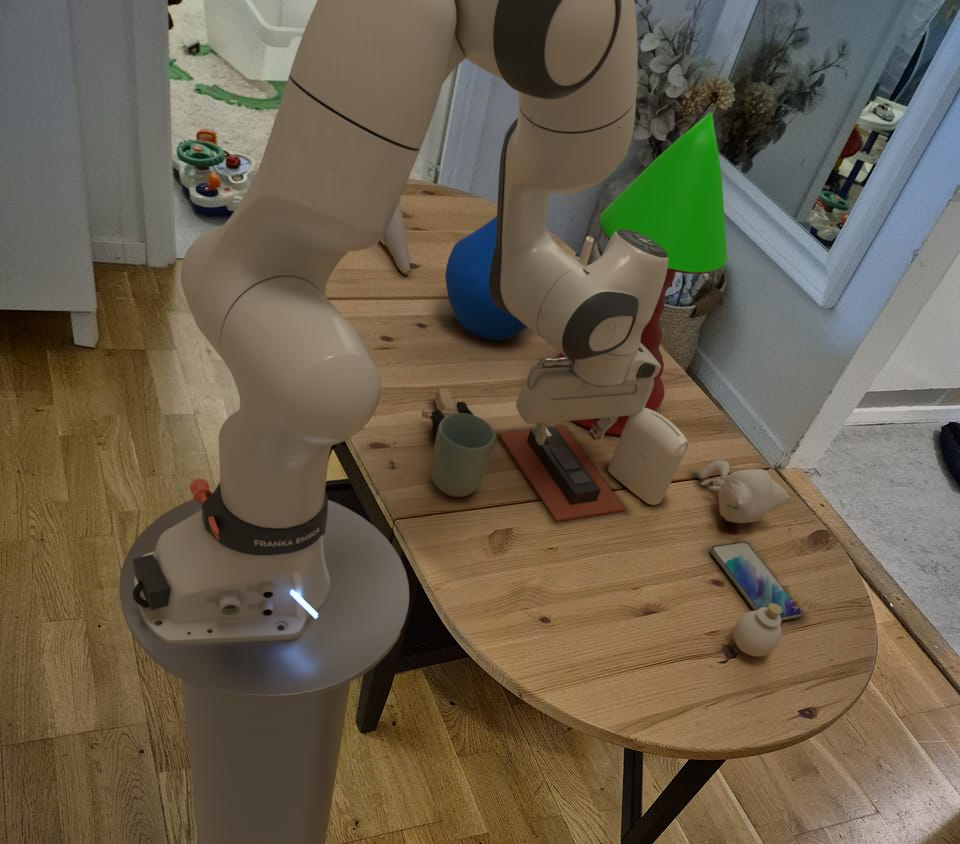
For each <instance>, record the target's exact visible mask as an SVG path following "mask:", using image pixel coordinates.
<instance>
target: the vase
mask: <svg viewBox="0 0 960 844" xmlns="http://www.w3.org/2000/svg"><path fill="white" fill-rule="evenodd" d="M496 227H497V215H496V216H495V217H493V218H492V219H490V220H489V221H487V222H486V223H485V224H483V225H482V226H480V228H478V229H476V230H474V231H473V232H471V233H470V234H468V235H466V236H464V237H463V238H461V239H459V240H458V241H457V242H456V243H455V244H454V245H453V247H452V249H451V252H450V254H449V257H448V259H447V262H446V268H445V275H444V277H445V284H446V285H445V286H446V292H447V299H448V302H449V305H450V307H451V310H452V312H453V315H454V317H455V318H456V319H457V321H458V322H459V324H460V325H461V327H462V328H463V329H465V330H466V331H467V332H469V334H471V335H473V336H476V337H477V338H480V339H485V340H489V341H505V340H508V339H511V338H512V337H515V336H517V335H519V334H520V333H522V332H523V331H525V329H527V328H528V327H527V326H526V325H524V324H523V323H522V322H521V321H519V320H518V319H516V318H514V317H513V316H511V315H510V314H508V313H507V312H505V311H503V310H502V309H500V308H499V307H497V306H496V305H495V304H494V302H493V301H492V299H491V296H490V292H489V283H488V279H489V269H490V264H491V260H492V257H493V253H494V249H495V242H496Z"/></svg>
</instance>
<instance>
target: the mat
mask: <svg viewBox="0 0 960 844" xmlns="http://www.w3.org/2000/svg"><path fill="white" fill-rule="evenodd" d="M555 427H556V429H557V430H558V431H559V433H560V434H561V435H562V437H563V438H564V440H565V441H566V442H567V444H568V445H569V446H570V448H571V449H572V451H573V452H574V453H575V455H576V456H577V457H578V459H579V460H580V462H581V463H582V464H583V466H584V467H585V468H586V470H587V471H588V473H589V474H590V475H591V477H592V478H593V479H594V481H595V482H596V484H597V485H598V486H599V488H600V489H601V491H600V494H599V496H598V499H597V501H593V502H586V503H579V504H573V505H571V504H570V503H569V501H568V500H567V498H566V497H565V496H564V494H563V493H562V491H561V490H560V488H559V487H558V485H557V484H556V482H555V481H554V480H553V478H552V477H551V475H550V474H549V472H548V471H547V469H546V468H545V467H544V465H543V464H542V462H541V461H540V459H539V458H538V456H537V455H536V453H535V452H534V451H533V449H532V448H531V446H530V445H529V443H528V442H527V439H528V436H529V432H530V430H531V429H525V430H516V431H515V430H514V431H506V432H499V433H498V437H499V439H500V440H501V442H502V444H503V445H504V447H505V448H506V450H507V451H508V453H509V454H510V455H511V457H512V458H513V460H514V462H515V463H516V464H517V466H518V468H519V469H520V470H521V472H522V474H523V476H524V477H525V478H526V479H527V481H528V482H529V484H530V485H531V487H532V489H533V490H534V491H535V493H536V494H537V496H538V497H539V499H540V501H541V502H542V503H543V506H544V507H545V508H546V509H547V511H548V513H549V514H550V515H551V517H552V518H553V520H554V522H555V523H559V522H565V521H572V520H579V519H584V518H589V517H595V516H596V517H597V516H604V515H608V514H616V513H622V512H625V510H626V508H625V507H624V506H623V505H622V503H621V501H620V500H619V499H618V497H617V496H616V495H615V494H614V492H613V491H612V490H611V488H610V487H609V486H608V484H607V482H606V481H605V480H604V478H603V477H602V476H601V474H600V473H599V472H598V470H597V469H596V468H595V466H594V465H593V463H591V461H590V460H589V458H588V457H587V456H586V455H585V452H584V451H583V450H582V449H581V448H580V446H579V445H578V443H577V442H576V441H575V439H574V438H573V437H572V435H571V434H570V432H569V431H568V430H567V429H566V427H565V426H564V425H561V426H555Z"/></svg>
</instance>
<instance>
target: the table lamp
mask: <svg viewBox="0 0 960 844" xmlns="http://www.w3.org/2000/svg"><path fill="white" fill-rule="evenodd" d="M720 161H721V160H720V155H719V148H718V142H717V136H716V130H715V125H714V119H713V113H712V111H710V112H709V113H708V114H706V115H705V116H704V117H703V118H702V119H700V120H699V121H697V123H696V124H694V125H693V126H692V127H691V128H689V129H688V130H687V131H686V132H684V133H683V134H682V135H680V136H679V138H677V139H676V140H675V141H674V142H673V143H672V144H671V145H669V146H668V147H667V148H665V150H664V151H663V152H661V154H659V155H658V156H657V157H656V158H655V159H653V161H652V162H651V163H650V164H649V165H648V166H647V167H646V168H645V169H644V170H643V171H642V172H641V173H640V174H639V175H638V176H637V177H636V178H635V179H634V180H633V181H632V182H631V183H630V184H629V185H628V186H627V187H626V188H625V189H624V190H623V191H622V192H620V194H619V195H618V196H617V197H616V198H615V199H613V201H612V202H610V204H609V205H608V206H607V207H606V208H605V209H604V210H603V211H602V212H601V213H600V216H599V226H600V227H599V228H600V229H601V231H602V233H603V235H604V236H605V237H606V238H607V239H608V241H610V239H611V237H612V235H613V234H614V232H615V231H616V230H620V229H628V230H632V231H636V232H638V233H640V234H642V235H644V236H647V237H648V238H650V239H651V240H653V241H654V242H656V243H657V244H658V245H660V246H661V247H662V248H663V249H664V250H665V252H666V253H667V255H668V268H667V273H666V277H665V281H664V285H663V288H662V291H661V294H660V297H659V300H658V302H657V305H656V308H655V310H654V312H653V315H652V317H651V319H650V321H649V322H648V324H647V325H646V326H645V328H644V329H643V331H642V334H641V342H640V343H641V344H643V345H644V346H645V347H646V348H647V349H648V350H649V351H650V353H651V354H652V355H653V356H654V357H655V358H656V360H657V361H658V362H659V364H660V365H661V368H660V371H659V373H658V375H657V376H656V377H654V386H653V389H652V391H651V394H650V396H649V399H648V401H647V403H646V405H645V407H644V408H648V409H651V410H653V411H655V412H657V413H658V409H659V407H661V404H662V402H663V401H664V399H665V393H666V392H665V387H664V382H663V380H662V374H663V373H664V367H665V363H664V358H663V355H662V353H661V350H660V345H661V344H662V339H663V332H662V328H661V323H660V319H661V316H662V314H663V313H664V309H665V304H666V303H665V302H666V293H667V291H668V290H669V288H670V287H671V285H672V284H673V282H674V281H675V279H676V278H675V277H676V273H681V274H688V275H704V274H711V273H714V272H716V271H719V270H720V269H721V268H722V267H724V266H725V265H726V263H727V261H728V257H727V256H728V252H727V236H726V235H727V233H726V222H725V220H726V219H725V205H724V204H725V203H724V190H723V189H724V188H723V176H722V168H721V163H720ZM562 357H566V356H565V355H563V354H562V353H561V352H559V353H558V354H557V355H556V357H555V359H556V358H562ZM628 418H629V416H619V417H618V419H617V421H616V422H615V423H614V424H613V425H612V426H611V427H610V428H609V429H608V430H606V432H605V434H609V435H617V436H618V435H619V436H621V434H622V432H623V429H624V427H625V424H626V422H627V420H628ZM600 419H601V418H596V419H585V420H573V421H572V422H575V423H577V424H578V425H580V426H582V427H584V428H587V429H589V430H591V426H592V424H597V422H598V421H599V420H600Z"/></svg>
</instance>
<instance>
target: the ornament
mask: <svg viewBox="0 0 960 844" xmlns="http://www.w3.org/2000/svg"><path fill="white" fill-rule="evenodd" d="M796 598H797V597H796V596H795V597H794V598H792V599H793V600H790V601H792V602H793V601H794V602H797V601H798V599H796ZM792 602H791V603H792ZM801 604H802V602H800V603H798V604H797V606H795V607H792V608H796V609H797V608H800V609H801V608H803V607H804V605H801ZM796 609H795V610H796ZM780 613H782V608H781V607H780V606H779V605H777V604H775V603H771V604H769V606H768V608H766V607H762V608H760V609H758V611H754V610H751V611H747V612H746V613H744V614H742V615H741V616H740V617H739V618H738V619H737V620H736V622H735V624H734V626H733V629H732V635H733V641H734V643H735V645H736V647H737V648H738V649H739V650H740V651H741V652H743V653H744V654H746V655H748V656H751V657H763V656H767V655H769V654H770V653H773V652H774V651H775V650H776V649H777V648H778V647H779V645H780V642H781V640H782V636H783V635H782V633H783V632H782V626H781V624H782V621H781V618H780V616H779V614H780ZM786 617H787V616H786ZM786 617H785V618H782V619H786Z"/></svg>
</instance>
